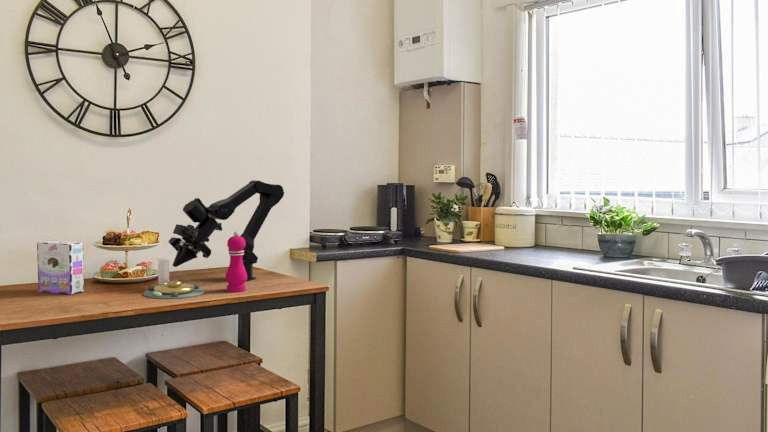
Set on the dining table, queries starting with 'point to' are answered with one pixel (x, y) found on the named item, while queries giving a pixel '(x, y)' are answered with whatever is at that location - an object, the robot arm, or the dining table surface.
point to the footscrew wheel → (169, 285)
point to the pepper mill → (236, 264)
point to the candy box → (60, 267)
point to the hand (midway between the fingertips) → (173, 266)
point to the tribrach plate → (173, 293)
